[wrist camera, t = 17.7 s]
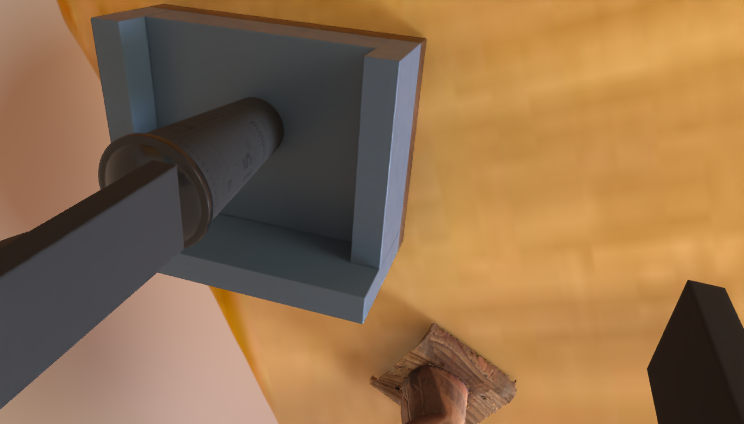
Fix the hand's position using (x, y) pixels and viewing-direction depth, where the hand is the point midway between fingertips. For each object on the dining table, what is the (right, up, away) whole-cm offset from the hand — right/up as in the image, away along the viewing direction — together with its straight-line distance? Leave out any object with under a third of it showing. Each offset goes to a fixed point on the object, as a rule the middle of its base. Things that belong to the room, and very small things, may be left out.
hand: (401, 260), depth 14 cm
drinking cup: (-10, +8, +30) cm, 33 cm away
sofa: (-9, +9, +36) cm, 39 cm away
